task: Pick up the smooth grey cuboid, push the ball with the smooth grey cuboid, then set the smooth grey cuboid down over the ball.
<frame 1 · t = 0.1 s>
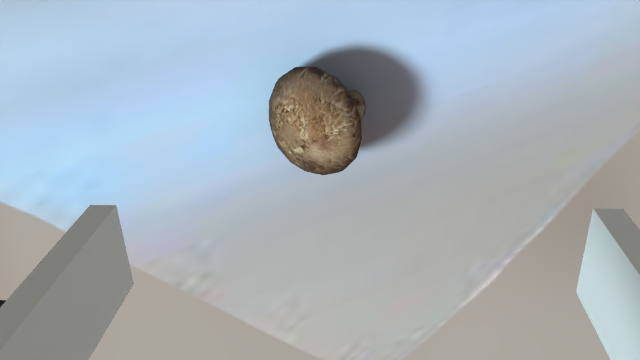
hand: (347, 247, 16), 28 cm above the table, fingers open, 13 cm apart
mushroom: (317, 107, 44), on the table
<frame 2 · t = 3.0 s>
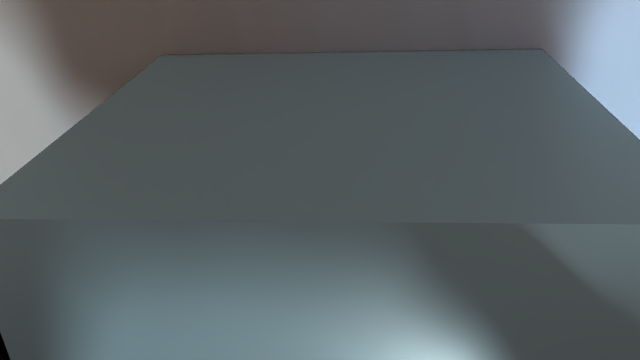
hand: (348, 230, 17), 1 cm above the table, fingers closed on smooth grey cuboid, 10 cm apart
smooth grey cuboid: (349, 216, 18), on the table, touching gripper
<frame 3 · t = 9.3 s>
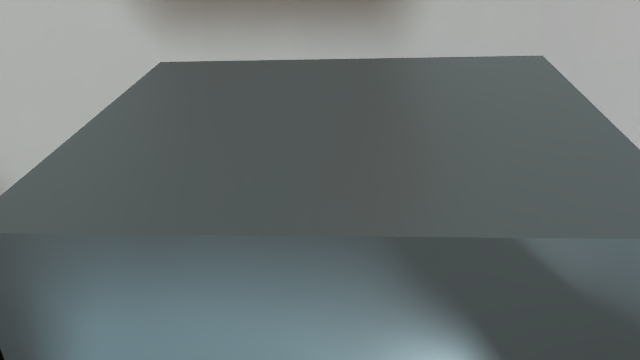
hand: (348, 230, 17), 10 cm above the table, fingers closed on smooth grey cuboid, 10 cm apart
smooth grey cuboid: (349, 222, 18), point 9 cm above the table, touching gripper
when the fingers open (1 cm above the table, at t = 14.6 s): smooth grey cuboid stays where it is, on the table.
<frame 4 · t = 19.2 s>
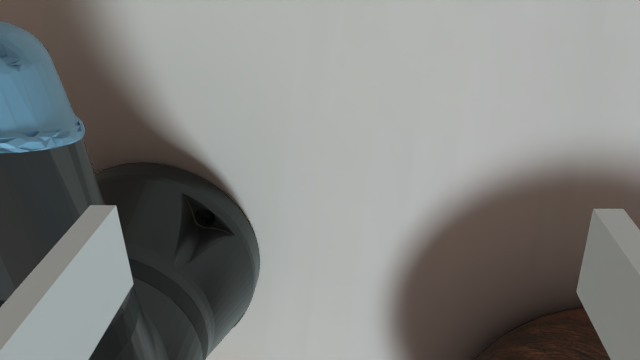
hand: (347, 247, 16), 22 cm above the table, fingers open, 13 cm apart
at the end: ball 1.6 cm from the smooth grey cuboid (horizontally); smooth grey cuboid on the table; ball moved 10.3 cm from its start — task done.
